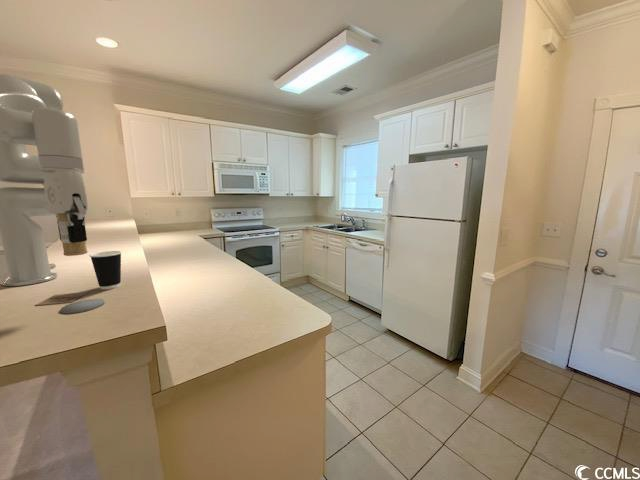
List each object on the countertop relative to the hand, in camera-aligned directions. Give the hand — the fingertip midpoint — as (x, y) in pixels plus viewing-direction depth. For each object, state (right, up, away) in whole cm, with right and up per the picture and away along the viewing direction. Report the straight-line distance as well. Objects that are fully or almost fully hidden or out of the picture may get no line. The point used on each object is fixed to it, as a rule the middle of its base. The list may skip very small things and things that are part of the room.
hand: (73, 240), depth 65 cm
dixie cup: (-5, -15, +18) cm, 24 cm away
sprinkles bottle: (0, -4, +1) cm, 4 cm away
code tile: (-11, -16, +8) cm, 21 cm away
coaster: (0, -17, +3) cm, 18 cm away
